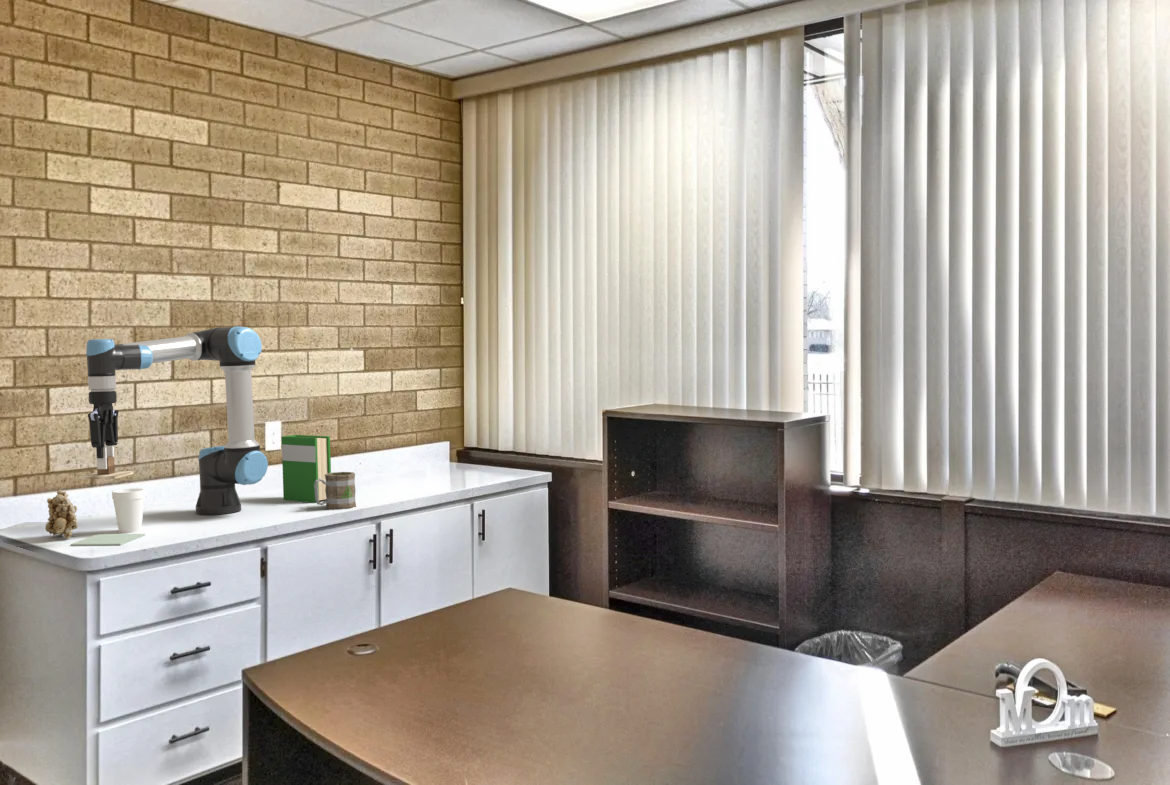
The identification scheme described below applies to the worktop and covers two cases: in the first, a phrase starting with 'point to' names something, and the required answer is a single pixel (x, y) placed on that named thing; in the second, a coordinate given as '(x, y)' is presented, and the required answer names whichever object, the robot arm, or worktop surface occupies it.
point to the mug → (338, 490)
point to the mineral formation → (61, 515)
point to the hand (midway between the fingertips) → (106, 467)
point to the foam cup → (129, 509)
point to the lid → (107, 472)
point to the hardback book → (305, 466)
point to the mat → (107, 539)
